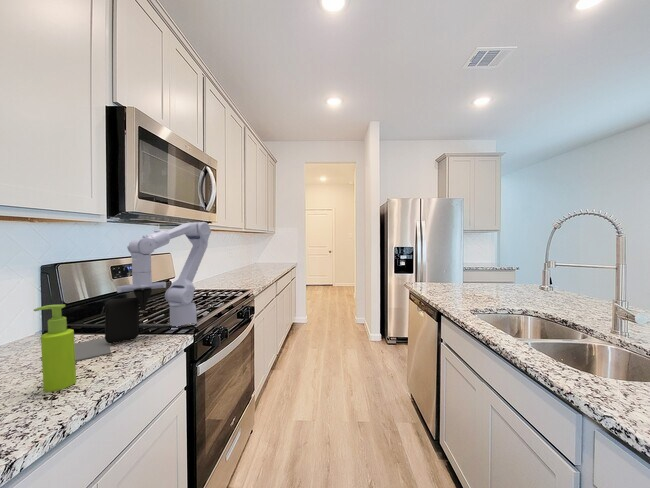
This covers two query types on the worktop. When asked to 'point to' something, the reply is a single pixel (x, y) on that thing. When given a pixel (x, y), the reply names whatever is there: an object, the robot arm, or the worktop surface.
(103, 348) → the mat
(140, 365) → the worktop surface
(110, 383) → the worktop surface
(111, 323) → the black upright slab
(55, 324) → the soap dispenser
